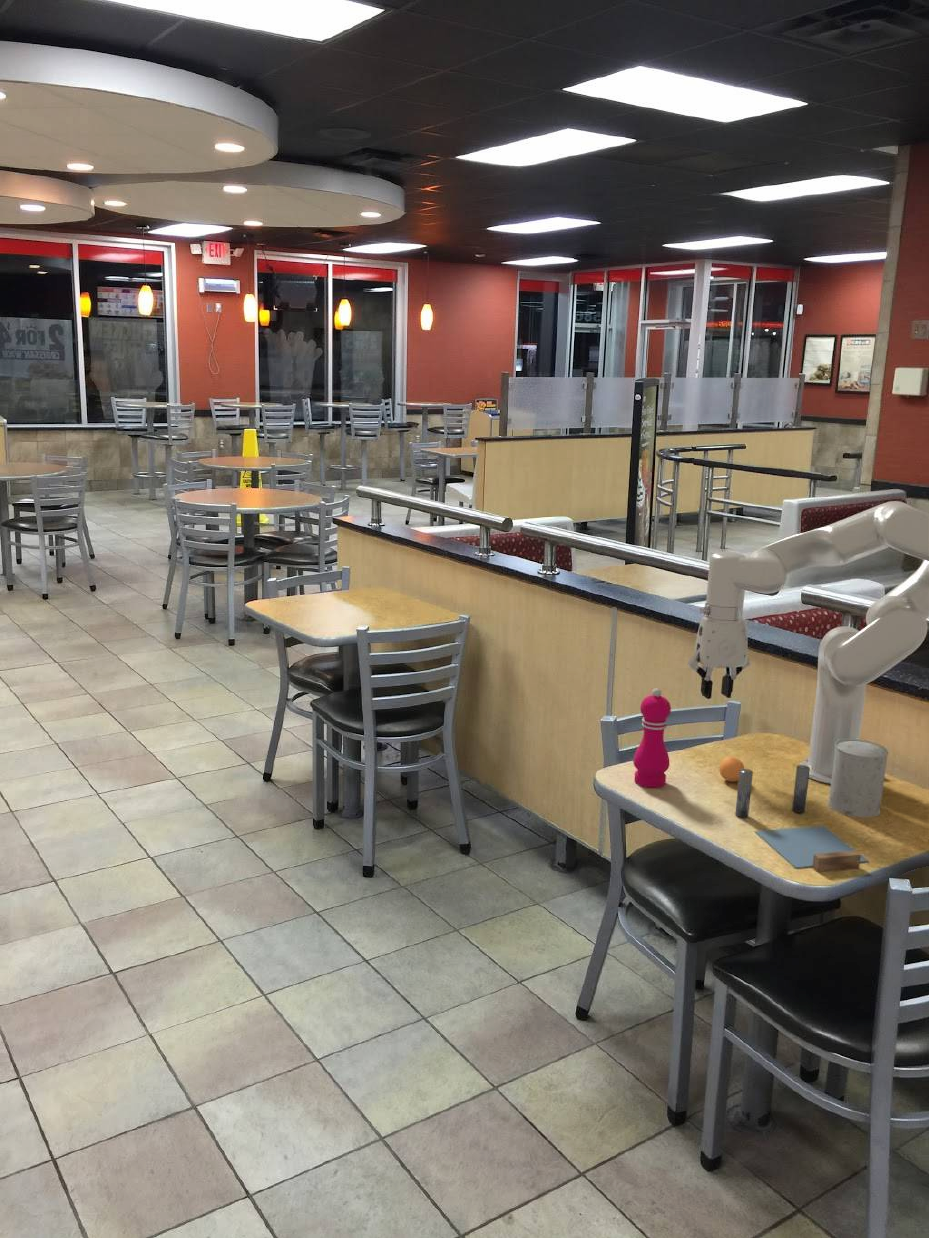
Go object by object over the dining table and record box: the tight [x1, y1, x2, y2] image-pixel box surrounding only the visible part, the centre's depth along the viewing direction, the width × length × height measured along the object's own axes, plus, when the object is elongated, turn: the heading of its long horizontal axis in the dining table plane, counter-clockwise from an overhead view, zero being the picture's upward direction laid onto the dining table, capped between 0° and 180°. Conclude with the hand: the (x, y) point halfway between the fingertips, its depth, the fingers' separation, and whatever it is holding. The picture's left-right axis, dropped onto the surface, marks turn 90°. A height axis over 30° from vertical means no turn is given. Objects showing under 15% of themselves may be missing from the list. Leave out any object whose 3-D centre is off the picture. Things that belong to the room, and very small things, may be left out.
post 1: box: [734, 768, 754, 819], centre depth 191 cm, size 2×2×9 cm
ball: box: [718, 756, 745, 783], centre depth 208 cm, size 5×5×5 cm
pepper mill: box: [633, 687, 672, 789], centre depth 205 cm, size 7×7×20 cm
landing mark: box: [754, 825, 869, 869], centre depth 181 cm, size 14×14×1 cm
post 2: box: [791, 764, 810, 815], centre depth 194 cm, size 2×2×9 cm
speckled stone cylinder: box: [827, 739, 889, 819], centre depth 196 cm, size 10×10×12 cm
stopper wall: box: [811, 850, 862, 873], centre depth 173 cm, size 8×2×2 cm, turn 103°
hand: (716, 695), depth 214 cm, fingers open, 3 cm apart
